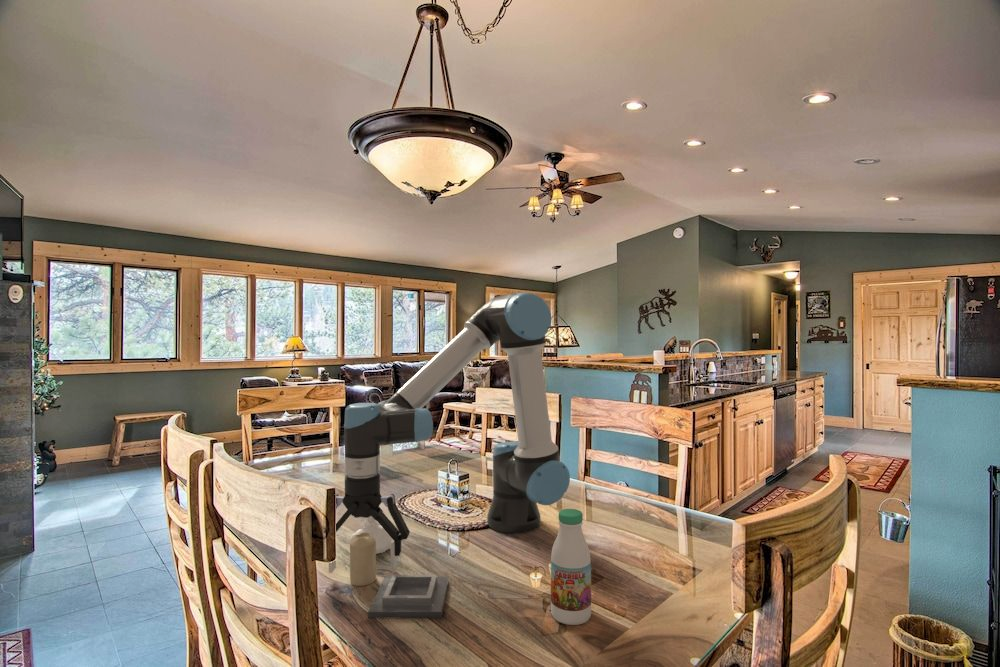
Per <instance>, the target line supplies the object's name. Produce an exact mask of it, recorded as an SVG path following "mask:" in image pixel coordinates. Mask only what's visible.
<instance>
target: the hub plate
mask: <svg viewBox="0 0 1000 667" xmlns="http://www.w3.org/2000/svg"><path fill="white" fill-rule="evenodd" d="M449 578H450V577H449V576H438V575H437V574H392V576H384V577H383V580H382V582H381V584H380V586H379V588H378V590H377V591H376V595H375V596H374V599H373V601H372V602H371V605H370V607H369V609H368V611H367V618H368V619H441V618H442V615H443V610H444V607H443V606H445V602H446V597H447V591H448V586H449V582H450V579H449Z"/></svg>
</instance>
